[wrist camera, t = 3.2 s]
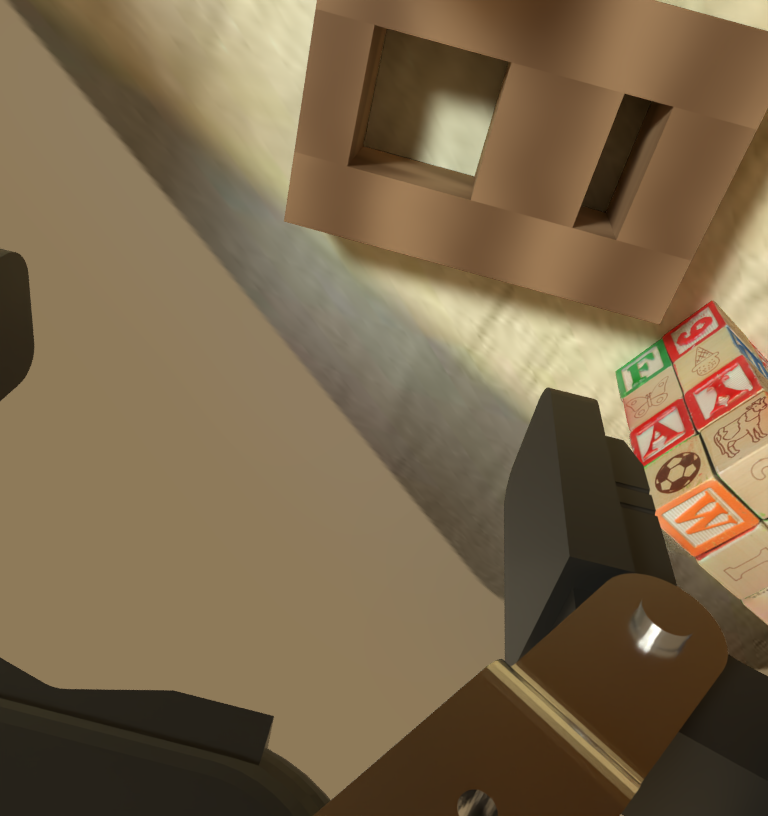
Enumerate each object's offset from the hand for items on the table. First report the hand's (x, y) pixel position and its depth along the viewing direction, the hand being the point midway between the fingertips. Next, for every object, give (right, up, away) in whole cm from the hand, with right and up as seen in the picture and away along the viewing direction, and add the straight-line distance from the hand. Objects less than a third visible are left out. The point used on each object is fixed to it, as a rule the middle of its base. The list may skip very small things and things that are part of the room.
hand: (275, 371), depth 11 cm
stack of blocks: (+24, -3, +29) cm, 38 cm away
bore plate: (+8, +13, +22) cm, 26 cm away
